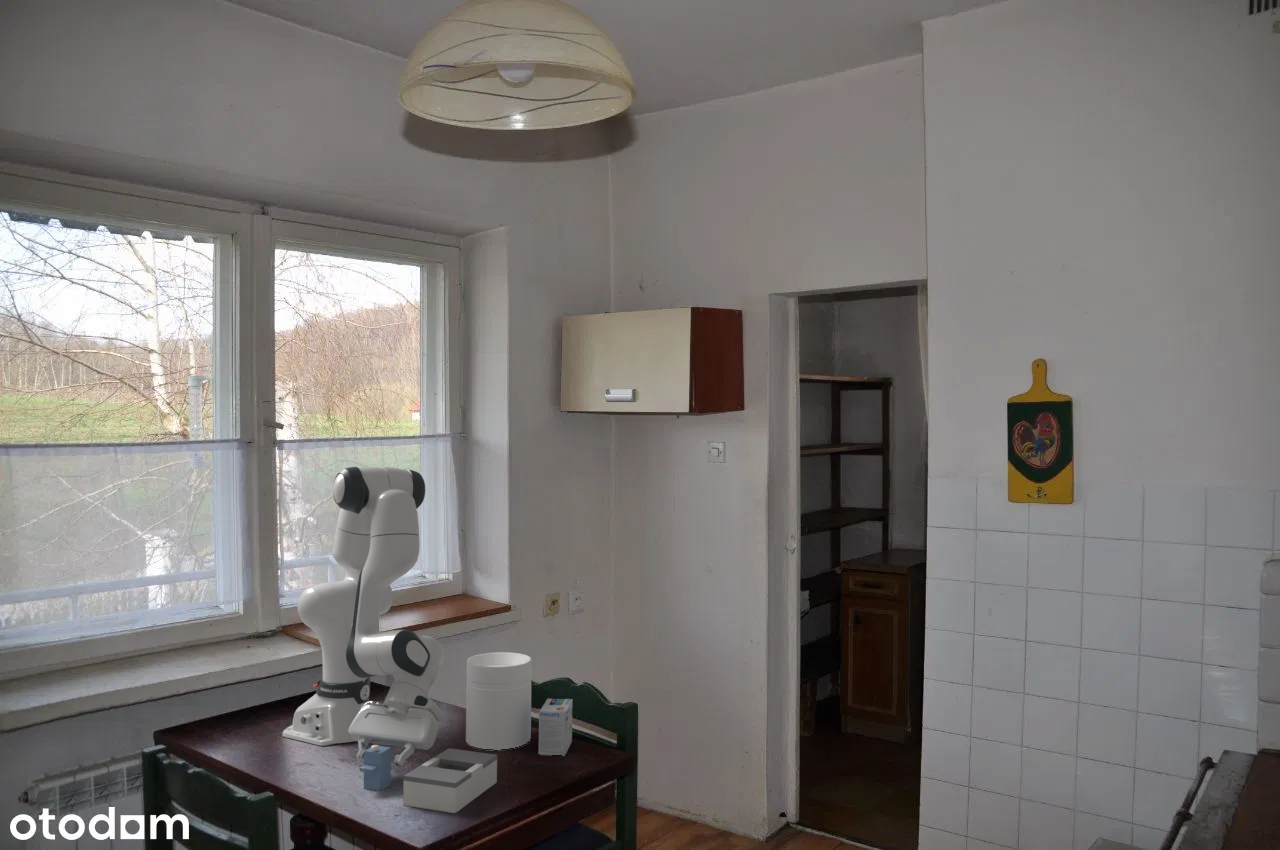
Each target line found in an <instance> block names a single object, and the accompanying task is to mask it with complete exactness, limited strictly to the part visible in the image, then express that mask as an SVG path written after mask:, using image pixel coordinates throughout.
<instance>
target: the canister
mask: <svg viewBox="0 0 1280 850" xmlns="http://www.w3.org/2000/svg"><path fill="white" fill-rule="evenodd" d="M532 660H533V659H532V657H531V656H529V655H527V654H525V653H524V654H523V653H518V652H511V651H508V652H507V651H505V652H504V651H500V652H499V651H498V652H486V653H481V654H479V653H478V654H476V655H472V656H469V657H468V658H467V659H466V699H465V700H466V702H465V704H466V707H465V709H466V711H465V713H466V715H465V742H467V743H468V744H469V745H470V746H474V747H477V748H482V749H494V750H498V751H502V750H501V749H509V748H514V749H516V748H515V747H518V748H520V747H519V746H521V747H523V746H522V745H524V744H526V743H527V742H528V741H529V742H530V741H531V740H530V739H532V737H531V736H532V735H531V734H532V733H531V732H532V731H531V729H532V665H533V664H532V662H533V661H532ZM467 743H466V744H467ZM468 744H467V745H468ZM527 744H528V743H527ZM527 744H526V745H527ZM469 745H468V746H469ZM470 746H469V747H470ZM524 746H525V745H524ZM494 750H493V751H494ZM509 750H510V749H509Z"/></svg>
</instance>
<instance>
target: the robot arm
mask: <svg viewBox="0 0 1280 850" xmlns="http://www.w3.org/2000/svg"><path fill="white" fill-rule="evenodd" d="M332 496H333V500H334V502H335V504H336V505H337V506H338V507H339V508H340V510H339V513H338V517H337V521H336V526H335V527H336V528H335V532H334V540H333V545H332V551H331V553H332V557H333V559H334V560H335V562H336V563H337V564H338V565H340V566H342V567H343V568H344V569H345V572H344V573H345V574H344V578H343V580H337V581H336V580H335V581H327V582H322V583H319V584H317V585H314V586H310V587H309V588H306V589H304V590H303V591H302V592H301V594H300V595H299V598H298V601H297V613H298V616H299V618H300V620H301V622H302V623H303V624H304V625H305V626H306V627H308V628H309V629H310V630H312V632H314V634H315V635H316V638H317V639H318V641H319V644H320V647H321V656H322V658H321V660H322V661H321V662H322V678H321V679H319V680H318V681H315V682H313V683H312V684H313V686H312V687H313V689H314V688H316V687H317V689H316V692H315V693H314V694H313V696H311V697H310V698H308V699H307V700H306V701H305V702H303V703H302V704H301V705H300V706H298V707H297V708H296V710H295V712H294V714H293V719H292V725H289V726H287V728H284V730H283V731H282V735H281V736H282V737H283V738H288V739H291V740H295V741H300V742H305V743H308V744H312V745H316V746H321V747H322V746H330V745H335V744H343V743H344V744H346V743H351V742H357V747H358V751H357V753H356V756H355V757H356V759H357V761H361V762H364V751H365V750H366V748H367V747H368V746H369V744H374V745H382V746H383V745H386V746H393V747H401V748H405V749H404V750H403V751H402V752H401V753H400V754H396V755H395V756H394V757H395V759H394V761H393V764H394V765H395V766H398V767H403V766H404V764H405V761H406V760H407V759H408V758H409V757H410V756H412V755H413V754H414V752H415V750H416V749H418V750H423V751H424V750H425V751H427V750H429V749H430V748H431V747H433V745H434V744H435V741H436V738H437V736H438V732H439V728H440V724H439V722H440V721H441V720H442V717H443V714H442V712H441V710H440V708H439V707H438V705H437V704H436V703H435V701H433V700H432V699H431V698H430V692H431V689H432V688H433V687H434V685H435V684H436V681H437V679H438V677H439V675H440V672H441V669H442V667H443V662H444V657H445V649H444V646H443V645H442V643H441V642H440V641H438V640H437V639H436V638H434V637H433V636H430V635H417V634H416V632H414V631H412V630H410V629H395V630H394V629H393V630H392V629H391V630H388V631H387V630H386V631H380V630H379V622H380V616H381V615H384V614H385V613H387V612H388V611H389V610H390V609H391V607H392V604H393V600H394V599H393V598H394V594H393V589H392V587H391V585H392V584H393V583H394V582H395V581H396V580H398V579H400V578H401V577H403V576H404V575H406V574H407V573H408V572H410V571H411V570H412V568H414V566H415V564H416V563H417V562H418V559H419V555H420V544H421V543H420V525H419V515H418V510H417V509H418V508H419V507H420V506H422V504H423V502H424V500H425V497H426V483H425V479H424V478H423V476H422V474H421V473H419V472H418V471H415V470H412V469H410V468H409V469H408V468H405V469H402V468H397V467H396V468H395V467H389V466H377V467H375V466H374V467H373V466H372V467H371V466H367V467H366V466H365V467H357V466H350V467H345V468H342V469H340V471H338V473H337V474H336V475H335V478H334V481H333V486H332ZM386 675H387V676H389V675H391V676H392V677H394V681H393V683H392V684H391V686H390V689H389V690H388V693H387V695H386V697H385V699H384V701H376V700H370V695H371V694H370V693H371V678H372V677H376V676H386Z"/></svg>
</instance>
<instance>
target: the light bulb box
mask: <svg viewBox="0 0 1280 850" xmlns="http://www.w3.org/2000/svg"><path fill="white" fill-rule="evenodd" d="M572 742H573V699H572V698H546V700H545V702H544V703H543V705H542V707H541V708H540V709H539V710H538V755H539V754H540V755H539V756H552V755H562V756H561V757H565V756H566V754H567V753H568V750H569V748H570V746H571V744H572Z"/></svg>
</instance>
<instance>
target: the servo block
mask: <svg viewBox="0 0 1280 850" xmlns="http://www.w3.org/2000/svg"><path fill="white" fill-rule="evenodd" d="M395 757H396V756H392V747H390V746H383V745H380V744H373V745H371V747H369V748H368V749H365V751H364V761H363V765H362V766H361V767H359V772H362V773H363V790H364V789H365V790H370V791H378V792H381V791H382V790H384V789H385V788H387V787H389V786H390V785H391V781H392V780H391V776H392V775H391V773H392V772H391V770H392V769H391V767H392V764H391V763H392V762H394V759H395Z"/></svg>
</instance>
